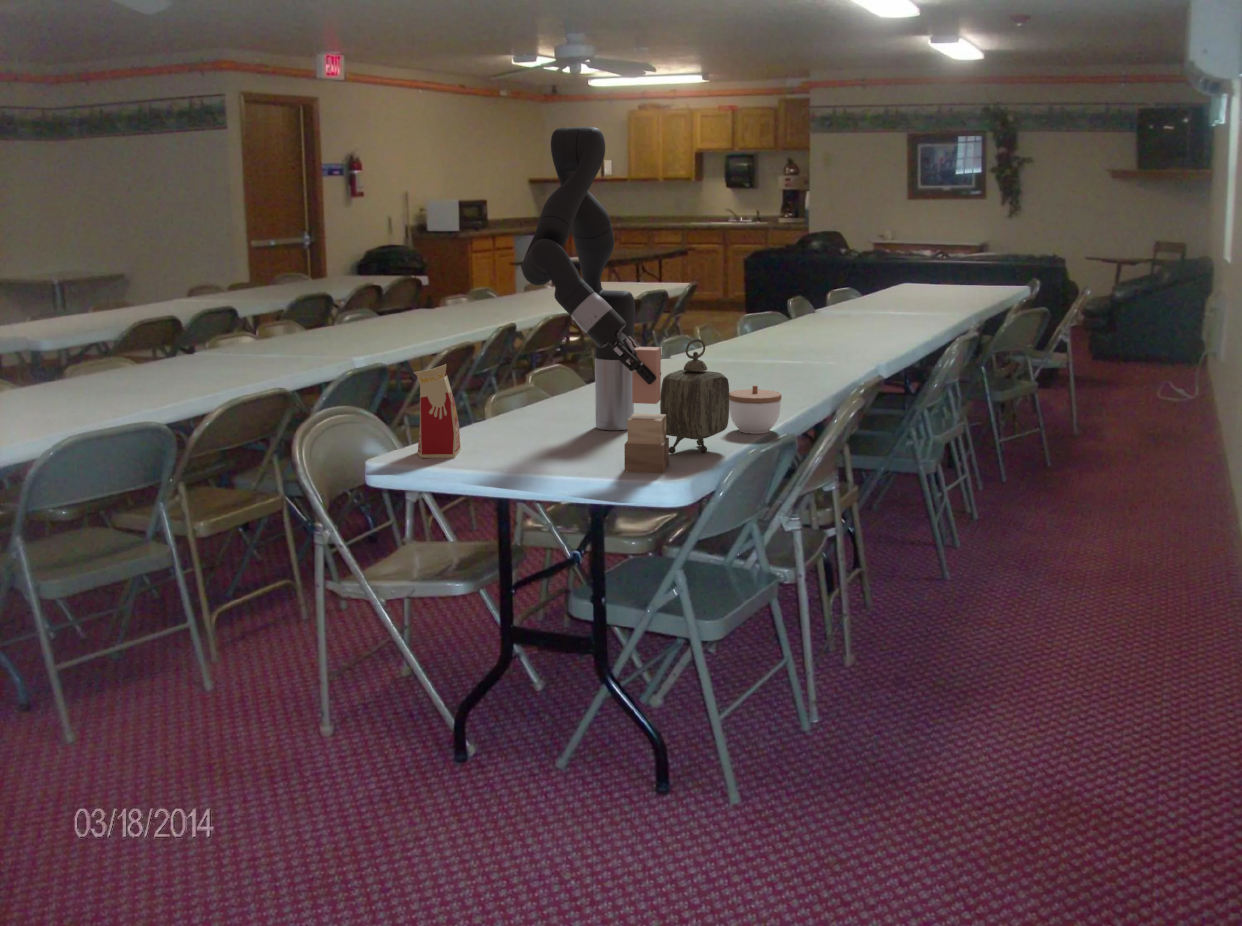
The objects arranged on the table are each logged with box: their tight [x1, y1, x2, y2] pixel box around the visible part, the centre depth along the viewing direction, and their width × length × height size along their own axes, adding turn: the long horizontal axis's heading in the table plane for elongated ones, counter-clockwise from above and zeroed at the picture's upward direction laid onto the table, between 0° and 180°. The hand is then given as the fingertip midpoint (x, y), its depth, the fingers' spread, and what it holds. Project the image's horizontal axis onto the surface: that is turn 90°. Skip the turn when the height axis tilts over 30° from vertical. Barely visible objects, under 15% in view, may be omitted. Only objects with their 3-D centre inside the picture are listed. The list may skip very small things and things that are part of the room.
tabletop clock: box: [659, 338, 730, 454], centre depth 264 cm, size 14×9×25 cm, turn 141°
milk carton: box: [413, 363, 462, 459], centre depth 265 cm, size 9×9×20 cm
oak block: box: [626, 413, 667, 445], centre depth 250 cm, size 7×7×5 cm
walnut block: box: [624, 437, 670, 474], centre depth 251 cm, size 8×8×6 cm
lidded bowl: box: [729, 384, 782, 435], centre depth 288 cm, size 13×13×11 cm
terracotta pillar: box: [632, 346, 662, 405], centre depth 247 cm, size 5×5×11 cm
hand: (655, 379), depth 247 cm, fingers closed on terracotta pillar, 5 cm apart
